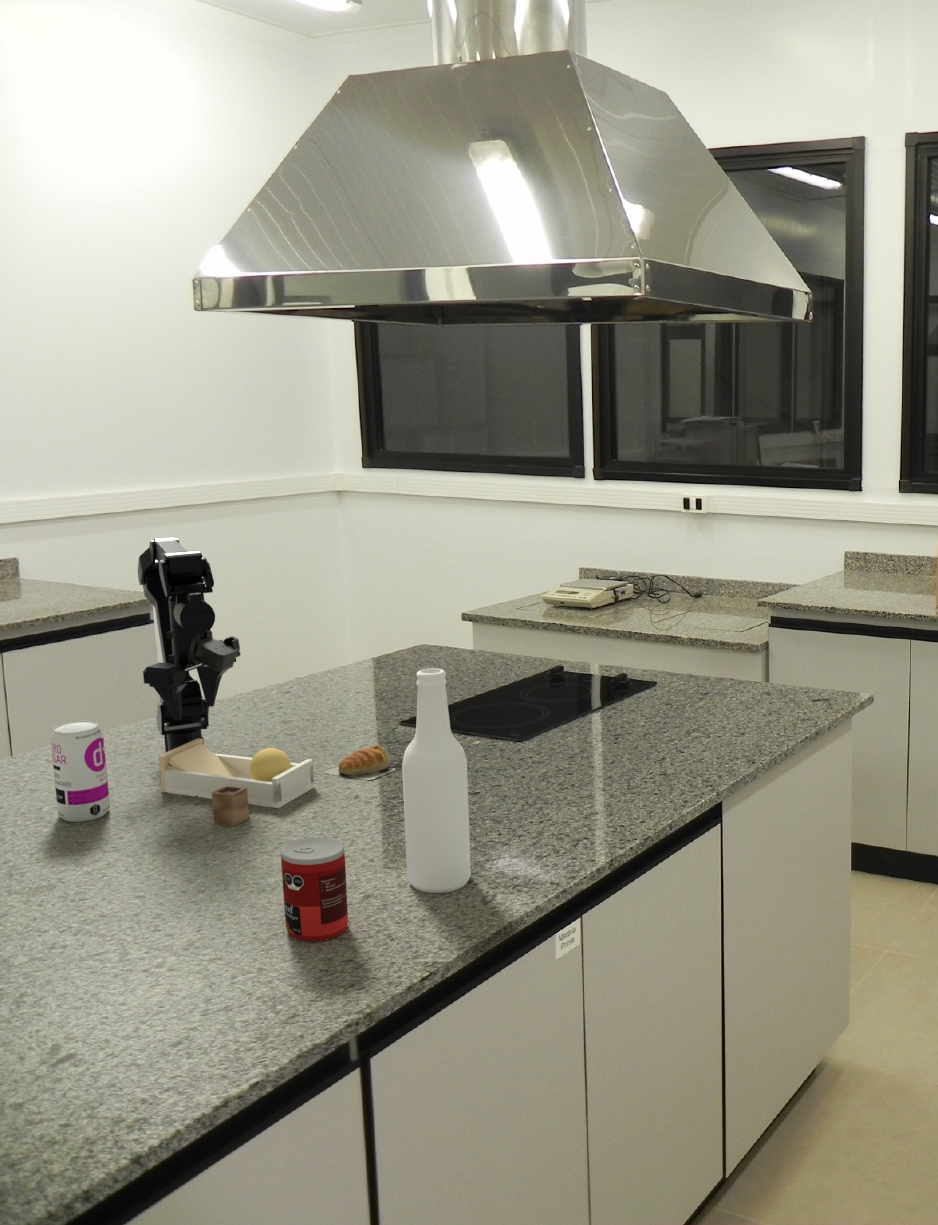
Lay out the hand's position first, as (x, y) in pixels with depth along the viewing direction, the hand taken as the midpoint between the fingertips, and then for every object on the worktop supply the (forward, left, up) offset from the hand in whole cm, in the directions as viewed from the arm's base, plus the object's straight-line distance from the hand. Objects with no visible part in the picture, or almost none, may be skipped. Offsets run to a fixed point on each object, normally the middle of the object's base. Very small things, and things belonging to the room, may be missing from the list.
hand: (194, 712), depth 211 cm
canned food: (+50, -42, -13) cm, 67 cm away
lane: (+8, 0, -13) cm, 16 cm away
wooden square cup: (+16, -13, -13) cm, 24 cm away
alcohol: (+58, -23, -13) cm, 64 cm away
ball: (+15, 0, -8) cm, 17 cm away
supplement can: (-9, -19, -13) cm, 25 cm away
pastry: (+23, +18, -14) cm, 32 cm away
